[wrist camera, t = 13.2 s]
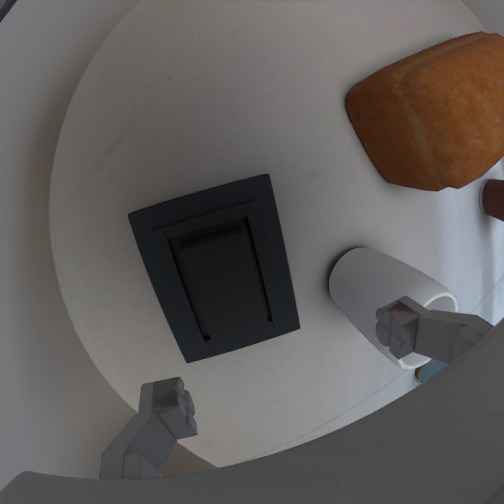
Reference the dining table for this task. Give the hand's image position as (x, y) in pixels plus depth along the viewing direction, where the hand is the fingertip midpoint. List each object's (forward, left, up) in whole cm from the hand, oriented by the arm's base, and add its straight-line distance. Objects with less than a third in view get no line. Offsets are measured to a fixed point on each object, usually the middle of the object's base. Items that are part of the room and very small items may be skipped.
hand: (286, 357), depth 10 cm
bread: (+33, +12, -20) cm, 40 cm away
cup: (+14, -9, -20) cm, 25 cm away
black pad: (-1, -4, -18) cm, 19 cm away
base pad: (-1, -4, -19) cm, 20 cm away
